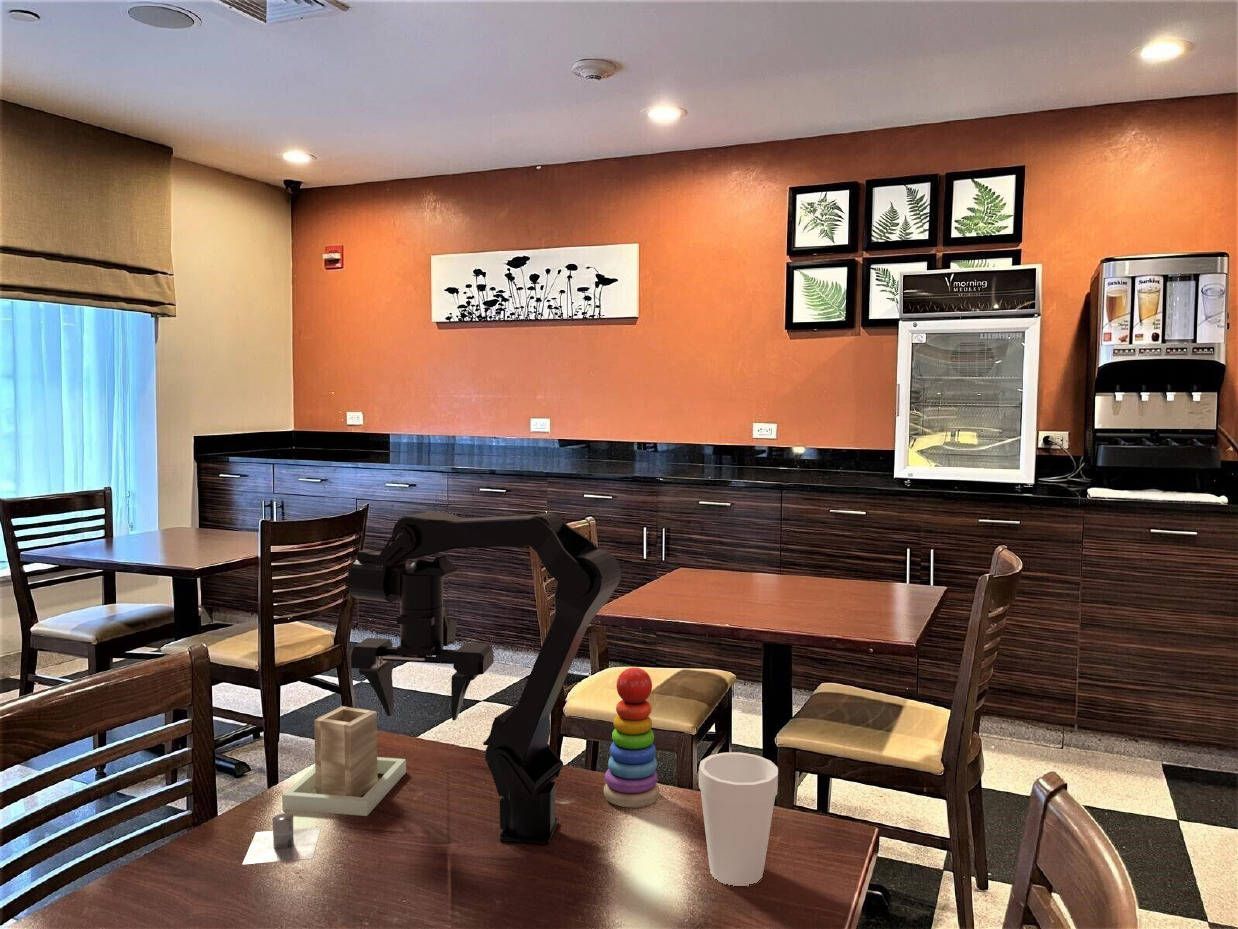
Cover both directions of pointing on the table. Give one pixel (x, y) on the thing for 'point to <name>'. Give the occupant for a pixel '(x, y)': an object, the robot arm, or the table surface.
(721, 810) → the foam cup
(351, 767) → the birch sleeve
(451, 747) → the table surface
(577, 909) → the table surface
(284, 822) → the stand
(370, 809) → the green tray
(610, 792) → the stacking toy
